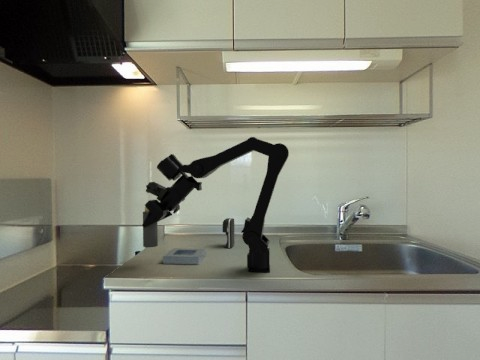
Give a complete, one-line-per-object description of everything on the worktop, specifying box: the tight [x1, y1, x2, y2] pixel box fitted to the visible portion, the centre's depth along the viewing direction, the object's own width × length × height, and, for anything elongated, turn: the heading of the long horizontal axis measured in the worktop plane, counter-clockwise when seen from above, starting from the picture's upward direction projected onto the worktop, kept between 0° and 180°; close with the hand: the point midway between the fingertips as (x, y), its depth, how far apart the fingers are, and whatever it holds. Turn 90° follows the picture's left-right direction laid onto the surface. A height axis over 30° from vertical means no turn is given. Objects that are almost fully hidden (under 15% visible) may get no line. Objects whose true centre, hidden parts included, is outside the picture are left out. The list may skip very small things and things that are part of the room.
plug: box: [142, 206, 159, 248], centre depth 110 cm, size 4×4×12 cm
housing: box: [162, 247, 207, 266], centre depth 118 cm, size 12×12×2 cm
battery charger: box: [222, 217, 235, 249], centre depth 139 cm, size 7×4×11 cm, turn 170°
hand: (146, 225), depth 110 cm, fingers closed on plug, 4 cm apart
